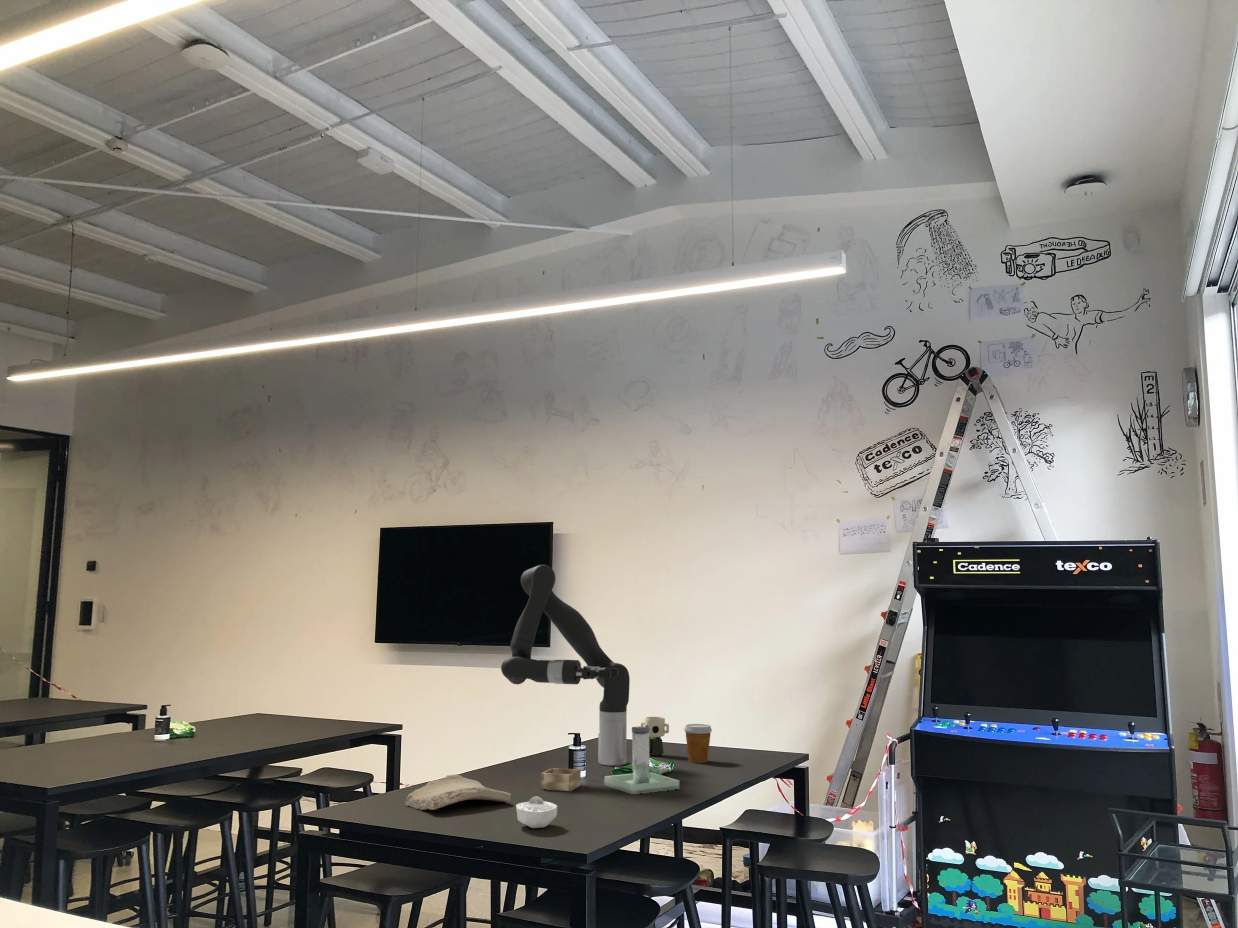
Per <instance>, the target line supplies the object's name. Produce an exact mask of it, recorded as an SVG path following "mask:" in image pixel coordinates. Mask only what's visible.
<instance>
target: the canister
mask: <svg viewBox="0 0 1238 928" xmlns="http://www.w3.org/2000/svg"><path fill="white" fill-rule="evenodd" d="M631 733H632V734H631V735H632V736H631V739H632V740H631V743H632V745H631V747H632V749H631V751H632V754H631V756H632V774H633V784H643V783H650V772H651V771H650V770H651V769H650V755H649V727H645V726H643V727H641V726H632V727H631Z"/></svg>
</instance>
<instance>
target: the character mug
mask: <svg viewBox="0 0 1238 928" xmlns="http://www.w3.org/2000/svg"><path fill="white" fill-rule="evenodd" d="M665 720H666V718H665V717H662V716H646V717H645V718H644V721H641V722H640V727H649V756H658V757H659V756H660V755H663V754H664V751H665V750H664V744H663V743H664V742H663V739H662V738H661V737H664V736H665V734H669V732H670V725H669V723H666V721H665Z"/></svg>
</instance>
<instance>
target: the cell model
mask: <svg viewBox="0 0 1238 928" xmlns="http://www.w3.org/2000/svg"><path fill="white" fill-rule="evenodd" d="M515 809H516V817H517V821H518V822H520V823H522V825H523V824H524V825H526V826H528V827H529V828H531V829H540V828H541V829H542V828H545V827H547V826H548V825H550V824H551V823H552V821H553V820H554V819H556V817H557V816H558V815H557V814H558V805H557V804H555V803H553V802H549V801H545V800H543V798H542V797H539V796H537V795H536V796H535V795H534V796H533V797H531V798H530V799H529V800H528V801H525V802H524V801H522V802H519V803H517V804H516V805H515Z"/></svg>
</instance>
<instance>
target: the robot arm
mask: <svg viewBox="0 0 1238 928" xmlns="http://www.w3.org/2000/svg"><path fill="white" fill-rule="evenodd" d="M555 584H556V573H555V572H554V570H553V568H552V567H551V566H549V565H547V564H538V565H536V566H534V567H531V568H528V569H526V570H525V571H523V573H522V575H520V585H521V587H522V590H523V591H524V592H525V593H526V595H527V596H529V598H528V600H527V604H526V605H525V608H523V611H522V613H521V615H520V616H519V618H518V620H517V622H516V625H515V628H514V630H513V635H512V638H511V641H510V650H511V656H509V657H507V658H505V659H504V660H503V661H502V662H501V663H502V664H501V667H500V670H501V673H502V675H503V676H504V677H505V678H506V679H507V680H508V681H509V682H510V683H511V684H513V685H521V684H523V683H525V681H526V680H532V681H533V682H536V683H542V684H543V683H544V684H546V683H547V684H556V685H578V684H580V682H581V679H583V680H594V679H595V680H596V681H597V683H598V684H599V685H600V686H601V688H603V697H602V700H601V701H600V702H599V710H598V711H599V713H598V715H599V717H598V718H599V723H598V724H599V728H598V730H599V732H598V739H597V741H598V742H597V745H598V746H597V747H598V748H597V751H598V752H597V762H598V764H599V765H603V766H624V765H626V764H627V734H628V733H627V731H628V730H627V722H628V721H627V718H628V716H627V715H628V713H627V712H628V711H627V709H628V708H627V707H628V704H629V699H630V686H631V685H630V681H631V679H630V673H629V670H628V669H627V667H626V666H625V665H624V664H622V663H620V662H614V661H613V660H612V659H611V658H610V657H609V656H608V655H607V654H606V652H604V650H603V649H602V647H601V645H600V644H599V641H598V640H597V637H596V634H595V632H594V631H593V629H592V627H591V626H590V624H589V623H588V621H587V620H586V619H585V618H584V616H583V615H582V614H581V613H580V612H579V611H578V610H577V609H576V608H574V607H572V606H571V605H570V604H568V603H566V602H564V601H563V600H561V599H560V598H559V597H558V596H557V595H556V593H555V592H554V591H553V588H554V586H555ZM543 613H544V614H545V615H546V616H547V618H548V619H549V620H550V621H551V623H552V625H554V626H555V627H556V628H557V630H558V631H559V633H560V634H561V635H562V637H563V638H564V640H566V642H567V643H568V644H569V645H570V646H571V648H572V649H573V650H574V651H575V653H576V654H577V655H578V656H579V657H580V658H581V659H582V660H583V662H584V663H585V664H586V665H584V666H583V667H582V664H581V662H580V660H579V659H550V660H549V659H533V658H532V649H533V647H534V644H535V638H536V635H537V630H538V627H539V625H540V621H541V617H542V615H543Z"/></svg>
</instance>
